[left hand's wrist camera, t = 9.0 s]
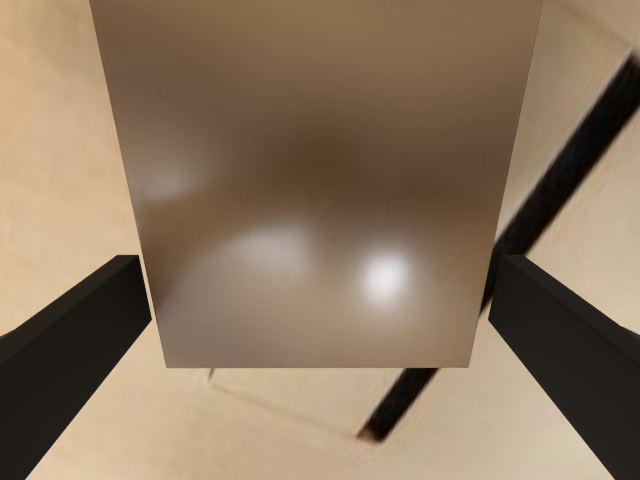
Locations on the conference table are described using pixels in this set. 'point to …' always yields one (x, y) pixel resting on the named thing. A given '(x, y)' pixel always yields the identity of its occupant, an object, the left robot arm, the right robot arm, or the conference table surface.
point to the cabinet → (316, 171)
